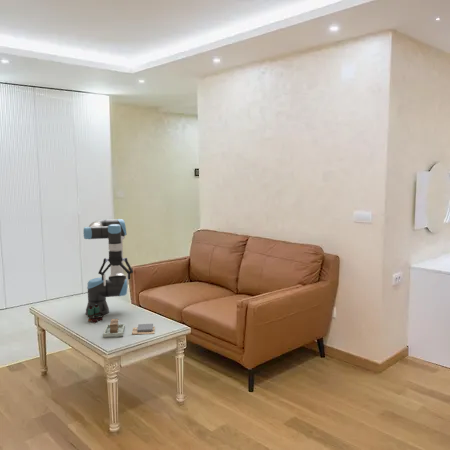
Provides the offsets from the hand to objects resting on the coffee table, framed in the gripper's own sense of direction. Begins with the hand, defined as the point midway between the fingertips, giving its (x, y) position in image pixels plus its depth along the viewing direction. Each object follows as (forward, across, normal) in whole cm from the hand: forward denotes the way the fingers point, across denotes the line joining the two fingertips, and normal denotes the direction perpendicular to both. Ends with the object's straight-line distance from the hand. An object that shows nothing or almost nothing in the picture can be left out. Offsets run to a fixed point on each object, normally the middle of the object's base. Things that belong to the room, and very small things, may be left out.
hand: (116, 284), depth 266 cm
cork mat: (+27, +16, -8) cm, 32 cm away
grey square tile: (+26, +17, -1) cm, 31 cm away
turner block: (+26, -1, -8) cm, 27 cm away
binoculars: (+27, -15, +15) cm, 34 cm away
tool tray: (+27, -1, -8) cm, 28 cm away
